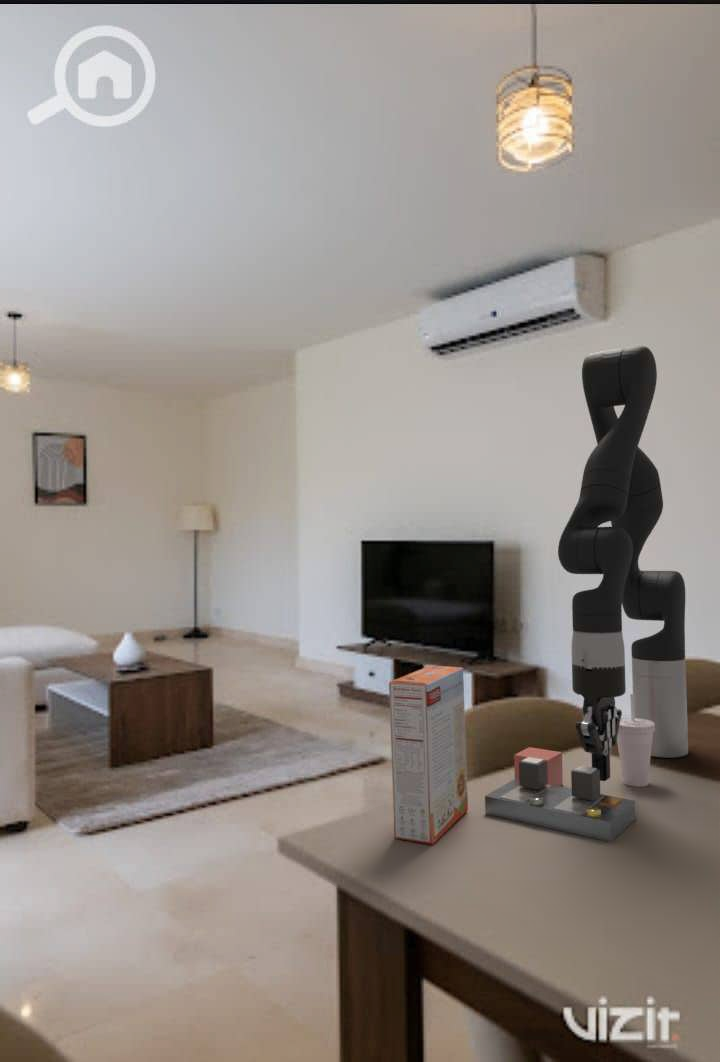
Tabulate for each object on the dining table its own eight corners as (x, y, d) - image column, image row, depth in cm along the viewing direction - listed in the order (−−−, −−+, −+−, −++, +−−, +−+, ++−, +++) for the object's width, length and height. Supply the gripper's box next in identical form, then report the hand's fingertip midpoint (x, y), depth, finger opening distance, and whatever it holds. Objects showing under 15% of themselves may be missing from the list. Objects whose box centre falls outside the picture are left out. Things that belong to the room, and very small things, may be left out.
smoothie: (650, 777, 122) (648, 691, 122) (662, 789, 115) (659, 699, 116) (610, 776, 122) (607, 691, 123) (619, 789, 116) (617, 699, 116)
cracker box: (430, 806, 110) (427, 664, 111) (469, 811, 107) (466, 666, 108) (389, 839, 98) (386, 679, 98) (432, 846, 95) (429, 682, 95)
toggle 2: (579, 790, 107) (579, 764, 107) (600, 794, 105) (599, 768, 105) (571, 796, 105) (571, 769, 105) (592, 800, 103) (592, 773, 103)
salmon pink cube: (530, 778, 122) (529, 747, 122) (562, 784, 119) (561, 752, 119) (515, 787, 118) (514, 754, 118) (548, 793, 114) (547, 760, 115)
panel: (516, 794, 114) (515, 773, 114) (635, 818, 103) (634, 794, 103) (485, 813, 106) (484, 790, 106) (610, 841, 95) (610, 815, 95)
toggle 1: (528, 780, 112) (527, 756, 112) (547, 784, 110) (546, 759, 110) (519, 786, 110) (518, 760, 110) (538, 789, 108) (537, 764, 108)
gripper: (589, 654, 118) (592, 764, 117) (556, 665, 107) (559, 786, 107) (637, 657, 113) (641, 772, 113) (607, 669, 103) (611, 796, 102)
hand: (601, 779), depth 110 cm, fingers closed
